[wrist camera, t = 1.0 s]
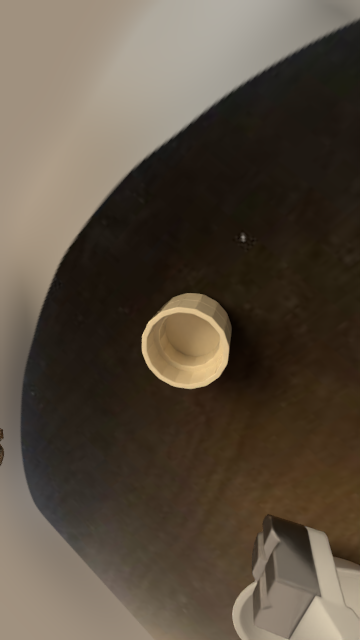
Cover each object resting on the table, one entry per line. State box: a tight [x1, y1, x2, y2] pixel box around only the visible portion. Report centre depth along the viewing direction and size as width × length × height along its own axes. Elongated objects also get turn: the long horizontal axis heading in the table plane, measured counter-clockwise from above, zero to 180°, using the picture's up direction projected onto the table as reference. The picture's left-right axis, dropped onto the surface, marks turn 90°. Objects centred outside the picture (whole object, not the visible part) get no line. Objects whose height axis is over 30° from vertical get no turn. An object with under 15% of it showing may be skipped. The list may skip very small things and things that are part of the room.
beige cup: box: [142, 293, 232, 389], centre depth 24 cm, size 6×6×4 cm
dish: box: [232, 557, 360, 640], centre depth 30 cm, size 18×14×5 cm
